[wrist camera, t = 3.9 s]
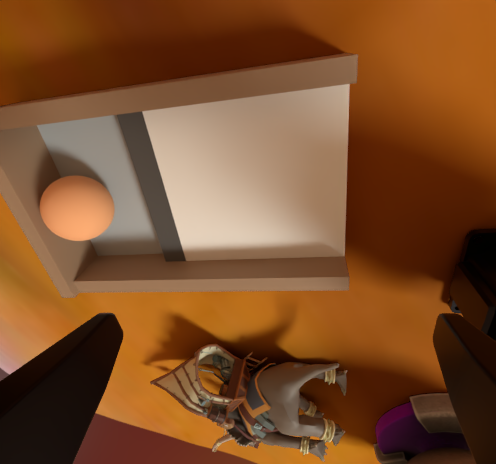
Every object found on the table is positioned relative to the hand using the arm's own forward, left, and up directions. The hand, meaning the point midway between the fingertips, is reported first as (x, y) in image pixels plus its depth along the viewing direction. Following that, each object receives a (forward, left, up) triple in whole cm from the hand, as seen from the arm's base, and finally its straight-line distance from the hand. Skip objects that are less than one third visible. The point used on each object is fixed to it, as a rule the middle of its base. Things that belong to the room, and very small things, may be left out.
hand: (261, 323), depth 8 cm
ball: (+12, 0, -9) cm, 15 cm away
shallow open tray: (+6, 0, -12) cm, 13 cm away
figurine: (+5, +20, -12) cm, 24 cm away
